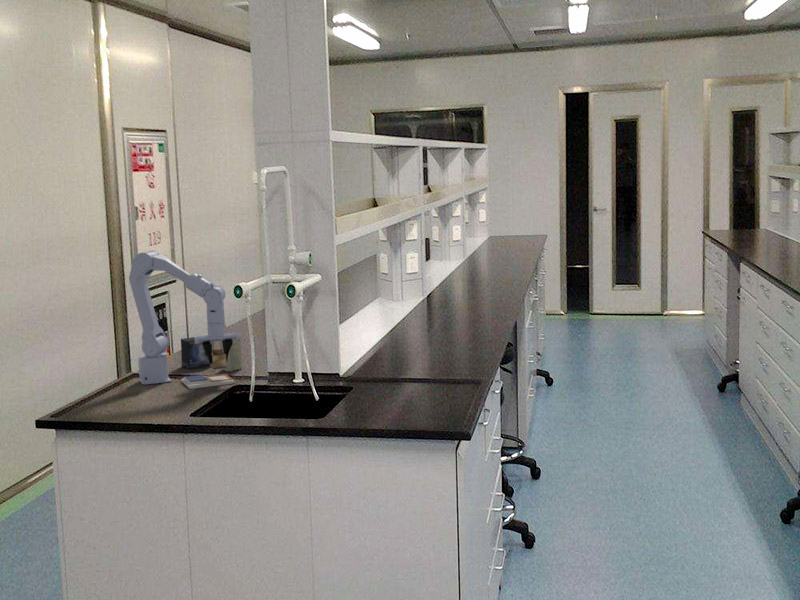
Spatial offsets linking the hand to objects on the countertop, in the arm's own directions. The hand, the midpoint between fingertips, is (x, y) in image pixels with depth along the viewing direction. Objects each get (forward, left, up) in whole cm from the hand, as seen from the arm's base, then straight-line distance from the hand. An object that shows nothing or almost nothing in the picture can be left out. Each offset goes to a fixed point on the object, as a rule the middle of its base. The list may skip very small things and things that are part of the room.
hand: (218, 362), depth 288 cm
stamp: (0, 0, -2) cm, 2 cm away
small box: (0, +29, -7) cm, 30 cm away
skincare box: (+9, +16, -7) cm, 19 cm away
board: (-4, 0, -6) cm, 7 cm away
